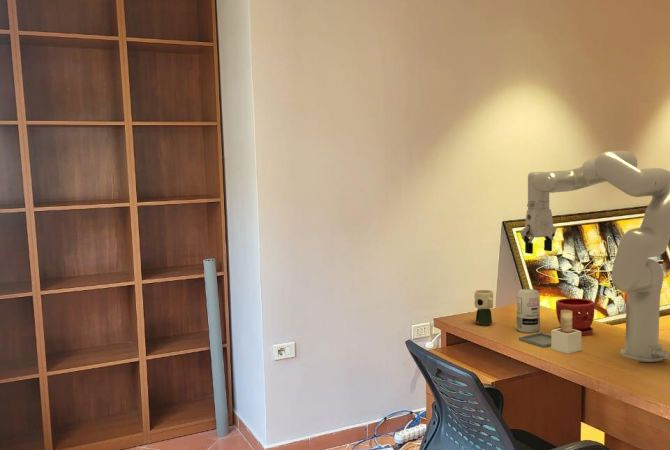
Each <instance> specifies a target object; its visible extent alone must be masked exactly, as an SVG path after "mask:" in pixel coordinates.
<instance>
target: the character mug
mask: <svg viewBox="0 0 670 450" xmlns="http://www.w3.org/2000/svg"><path fill="white" fill-rule="evenodd" d="M473 305H474V307H475V308H476V309H477V310H476V314H475V324H478V325H480V326H481V325H482V326H483V325H484V326H487V325H490V324H493V317H492V311H491V309H493V307H494V291H493V290H490V289H477V290H474V304H473Z"/></svg>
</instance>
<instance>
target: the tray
mask: <svg viewBox="0 0 670 450" xmlns="http://www.w3.org/2000/svg"><path fill="white" fill-rule="evenodd" d="M518 340H519V341H520V342H523V343H525V344H529V345H532V346H536V347H539V348H542V349H546V348H549V347H550V348H551V334H548V333H545V332H535V333H531V334H527V335H524V336H520V337H518Z"/></svg>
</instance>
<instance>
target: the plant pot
mask: <svg viewBox="0 0 670 450" xmlns="http://www.w3.org/2000/svg"><path fill="white" fill-rule="evenodd" d="M555 310H556V311H555V312H556V317H557V320H558V323H559V325H560V326H559V327H558V329H559V328H561V310H571V311H572V329H574V330H578V331H581V337H582V336H589V335H590V334H592V333H593V332H594V329H593V327H591V326H592V324H593V322H594V318H595V302H594V301H593V300H591V299H587V298H577V297H575V298H573V297H572V298H570V297H569V298H568V297H567V298H561V299H557V300H556V301H555Z"/></svg>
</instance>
